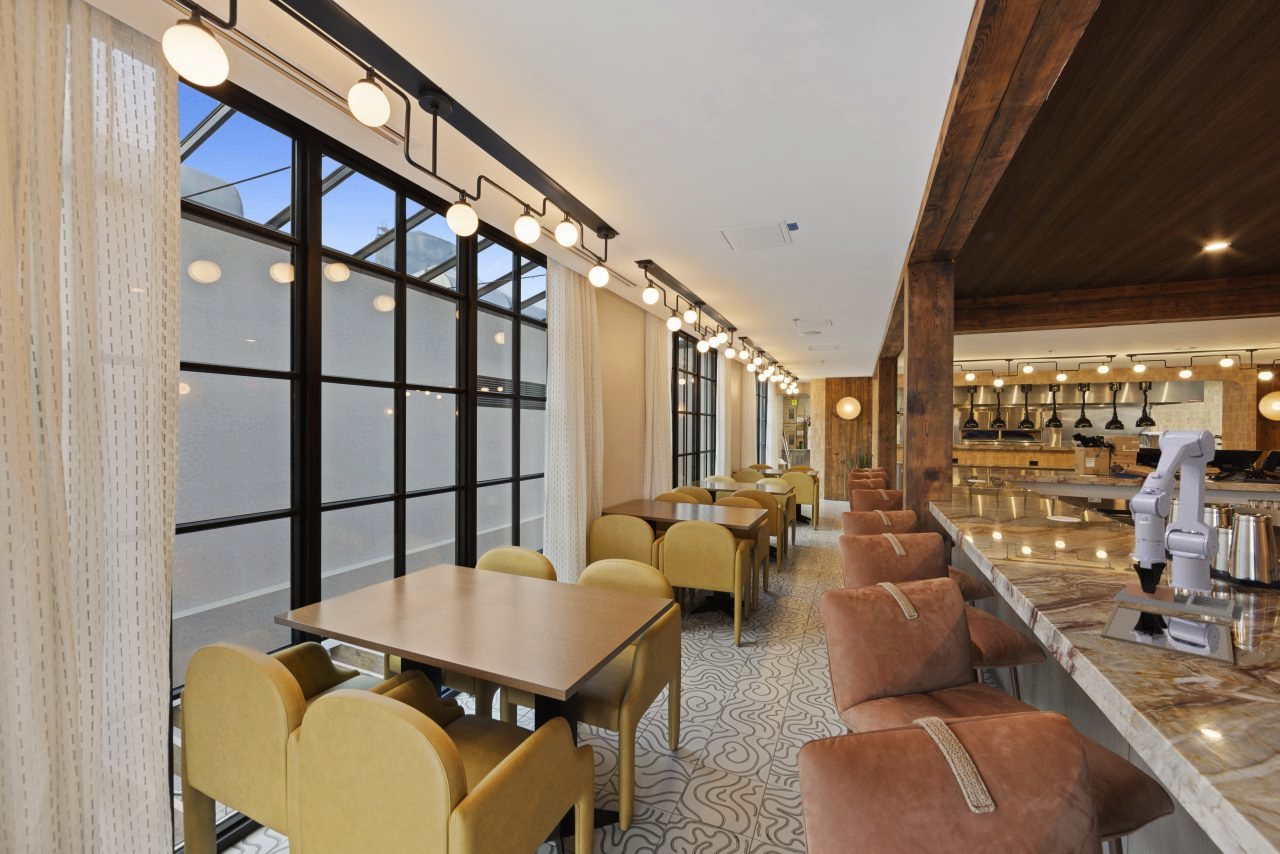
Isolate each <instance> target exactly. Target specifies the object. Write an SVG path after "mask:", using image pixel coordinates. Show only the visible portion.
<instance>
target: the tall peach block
mask: <svg viewBox="0 0 1280 854" xmlns="http://www.w3.org/2000/svg"><path fill="white" fill-rule="evenodd" d="M1125 585H1126V586H1125V587H1126V594H1129V595H1135V596H1141V597H1147V598H1152V599H1158V600H1164V601H1170V602H1174V600H1175V596H1176V588H1175V587H1170V585H1163V584H1159V585H1157V586H1156V591H1155V593H1154V594H1150V593H1144V592H1143V590H1142V587H1141V583H1140V581H1138V580H1137V581H1136V580H1130V579H1128V580H1127V581H1126V584H1125Z"/></svg>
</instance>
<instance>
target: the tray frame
mask: <svg viewBox="0 0 1280 854" xmlns="http://www.w3.org/2000/svg"><path fill="white" fill-rule="evenodd" d="M1188 598H1189V599H1188V601H1187V602H1186V610H1187V611H1193V612H1198V613H1204V614H1210V615H1215V616H1221V617H1226V618H1232V617H1233V613H1234V609H1235V605H1236V601H1235V600H1233V599H1226V598H1220V597H1214V596H1209V595H1208V596H1207V595H1201V594H1195V593H1191V594H1190V595H1189V596H1188ZM1195 601H1199V602H1205V603H1210V604H1216V605H1222V606H1228V609H1227V610H1222V609H1216V608H1210V607H1204V606H1198V605H1194V603H1195Z"/></svg>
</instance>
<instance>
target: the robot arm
mask: <svg viewBox="0 0 1280 854" xmlns="http://www.w3.org/2000/svg"><path fill="white" fill-rule="evenodd" d="M1158 445H1159V450H1160V451H1161V455H1160V457H1159V460H1158V461H1159V462H1158V464H1157V467H1156V470H1155V471H1152V472H1150V473H1148V475H1147V476H1146V478H1145V481H1144V483H1143V485H1142V487H1141V489H1140V490H1139V492H1138V493H1136V494H1133V495H1132V496H1131V498H1130V501H1129V505H1128V506H1129V510H1130V513H1131V518H1132V520H1133V521H1134V543H1135V545H1134V548H1135V549H1134V550H1135V551H1134V553H1133V552H1131V553H1129V554H1128V555H1129V557H1130V558H1134V559H1136V560H1137V563H1133V565H1132V567H1133V568H1134V570H1135V573H1136V574H1137V576H1138V579H1139V582H1140V583H1141V587H1142V590H1143V592H1144V593H1150V594H1154V593H1155V591H1156V586H1157V585H1160V582H1161V578H1162V575H1163V572H1164V570H1165V568H1166V567H1167V566H1168V563H1167V557H1166V550H1167V551H1168V552H1169V554H1170V555H1172V581H1171V583H1170V584H1169V586H1170V587H1175V589H1181V590H1188V591H1194V592H1201V593H1208V594H1212V593H1213V590H1214V587H1215V586H1214V585H1213V584H1211V577H1210V576H1211V570H1210V569H1211V567H1210V566H1211V565H1210V564H1211V563H1210V561H1211V560H1210V559H1213V558H1214V557H1216V556H1217V555H1218V553H1219V551H1220V541H1219V538H1218V531H1217V530H1216V529H1215V528H1214V527H1212V526H1211V525H1209V524H1208V523H1207V522H1205V521H1204V518H1205V517H1204V516H1205V515H1204V514H1205V513H1204V512H1205V497H1206V496H1205V494H1206V476H1207V475H1206V473H1207V466H1208V465H1207V464H1208V463H1209V462H1212V461H1214V460H1215V457H1216V455H1215V454H1216V439H1215V436H1214V434H1213V433H1212V432H1210V430H1208V429H1206V430H1169V429H1167V430H1166V429H1165V430H1163V431H1162V432H1161V433H1160V434H1159V436H1158ZM1179 469H1180V479H1179V480H1180V483H1179V501H1178V502H1179V504H1178V519H1177V520H1175V521H1173V522H1171V523H1169V524H1167V526H1165V525H1166V521H1165V520H1166V519H1165V518H1166V517H1167V516H1168V515H1169V514H1170V512H1171V511H1170V510H1171V502H1172V501H1171V498H1170V497H1171V495H1172V493H1173V491H1174V489H1175V487H1176V484H1177V483H1178V482H1177V478H1176V477H1175V474H1176V473H1177V472H1178V470H1179ZM1165 527H1166V529H1165ZM1182 530H1184V531H1182ZM1190 531H1191V532H1190Z"/></svg>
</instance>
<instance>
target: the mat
mask: <svg viewBox="0 0 1280 854" xmlns="http://www.w3.org/2000/svg"><path fill="white" fill-rule="evenodd" d="M1188 599H1189V596H1188V597H1186V596H1181V595H1175V600H1174V602H1170V601H1164V600H1158V599H1152V598H1147V597H1141V596H1135V595H1129V594H1126V586H1124V587H1123V588H1122V589H1121V590H1120V591H1119V592H1118V593H1117V594H1116V595H1115V596H1114V597H1113V598H1112V600H1115V601H1121V602H1127V603H1128V602H1129V603H1132V604H1133V603H1134V604H1140V605H1144V606H1150V607H1156V608H1159V609H1160V608H1161V609H1167V610H1172V611H1178V612H1184V613H1189V614H1194V615H1199V616H1204V617H1205V616H1206V617H1211V618H1215V619H1222V620H1227V621H1232V622H1238V623H1239V622H1240V621H1241V617H1242V611H1243V607H1244V606H1241V605H1236V604H1235V609H1234V613H1233V617H1232V618H1226V617H1221V616H1215V615H1210V614H1204V613H1198V612H1193V611H1187V610H1186V602H1187V601H1188ZM1194 605H1198V606H1204V607H1210V608H1216V609H1222V610H1227V609H1228V606H1222V605H1216V604H1210V603H1205V602H1199V601H1195V603H1194Z"/></svg>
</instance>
